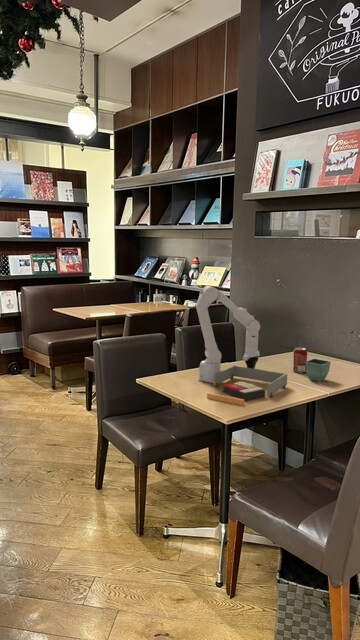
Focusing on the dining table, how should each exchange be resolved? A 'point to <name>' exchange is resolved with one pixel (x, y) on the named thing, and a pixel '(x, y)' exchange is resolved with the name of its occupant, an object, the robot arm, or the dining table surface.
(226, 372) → the grey u-shaped barrier
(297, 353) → the soda can
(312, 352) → the dining table surface
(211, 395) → the bar
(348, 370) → the dining table surface
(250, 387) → the calculator
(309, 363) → the flower pot
